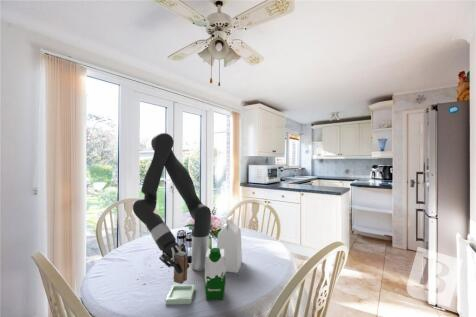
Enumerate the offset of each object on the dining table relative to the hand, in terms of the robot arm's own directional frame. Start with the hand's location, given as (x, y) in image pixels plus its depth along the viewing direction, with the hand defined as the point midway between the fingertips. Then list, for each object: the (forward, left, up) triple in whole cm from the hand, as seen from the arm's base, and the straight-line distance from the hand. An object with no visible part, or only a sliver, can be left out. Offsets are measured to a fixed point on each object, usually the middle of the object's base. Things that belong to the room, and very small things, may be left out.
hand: (184, 270), depth 90 cm
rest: (+1, -2, -11) cm, 12 cm away
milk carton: (-12, +4, -12) cm, 17 cm away
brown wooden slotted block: (+1, -2, -5) cm, 5 cm away
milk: (-29, -15, -12) cm, 35 cm away
